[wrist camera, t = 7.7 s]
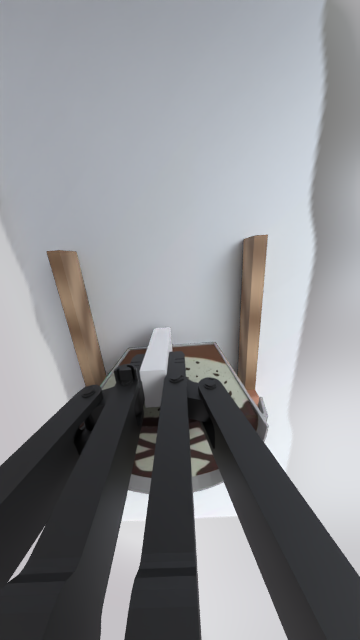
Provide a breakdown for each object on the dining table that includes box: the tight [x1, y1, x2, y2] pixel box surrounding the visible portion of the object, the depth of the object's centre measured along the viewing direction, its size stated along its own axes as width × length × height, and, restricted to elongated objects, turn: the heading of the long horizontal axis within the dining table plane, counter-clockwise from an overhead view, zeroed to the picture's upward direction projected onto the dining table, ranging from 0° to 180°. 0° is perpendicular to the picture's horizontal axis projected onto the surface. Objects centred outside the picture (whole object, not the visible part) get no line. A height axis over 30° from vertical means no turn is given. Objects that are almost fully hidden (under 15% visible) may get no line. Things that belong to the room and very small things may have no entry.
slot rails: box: [47, 235, 268, 407], centre depth 18 cm, size 27×17×4 cm, turn 4°
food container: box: [79, 342, 269, 494], centre depth 15 cm, size 12×6×10 cm, turn 95°
